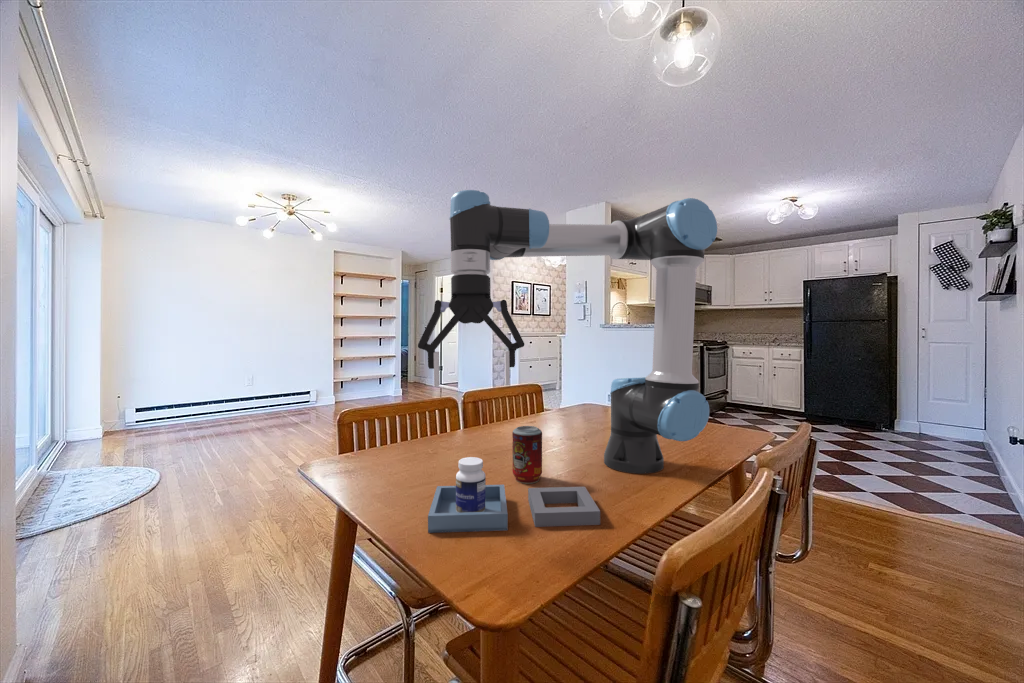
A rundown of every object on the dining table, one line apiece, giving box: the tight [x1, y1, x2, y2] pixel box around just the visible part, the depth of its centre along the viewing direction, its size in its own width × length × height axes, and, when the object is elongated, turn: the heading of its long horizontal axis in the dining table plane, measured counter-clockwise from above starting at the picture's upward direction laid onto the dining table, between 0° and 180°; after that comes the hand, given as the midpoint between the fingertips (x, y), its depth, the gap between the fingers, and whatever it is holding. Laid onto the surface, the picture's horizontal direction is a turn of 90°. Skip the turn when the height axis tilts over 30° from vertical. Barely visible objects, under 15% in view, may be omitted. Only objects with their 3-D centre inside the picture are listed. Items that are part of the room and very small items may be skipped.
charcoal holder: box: [527, 486, 601, 528], centre depth 82 cm, size 12×12×2 cm
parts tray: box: [427, 484, 509, 534], centre depth 81 cm, size 14×14×3 cm
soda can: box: [511, 425, 543, 485], centre depth 99 cm, size 7×7×12 cm
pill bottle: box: [455, 456, 487, 513], centre depth 81 cm, size 6×6×10 cm
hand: (472, 385), depth 81 cm, fingers open, 13 cm apart
